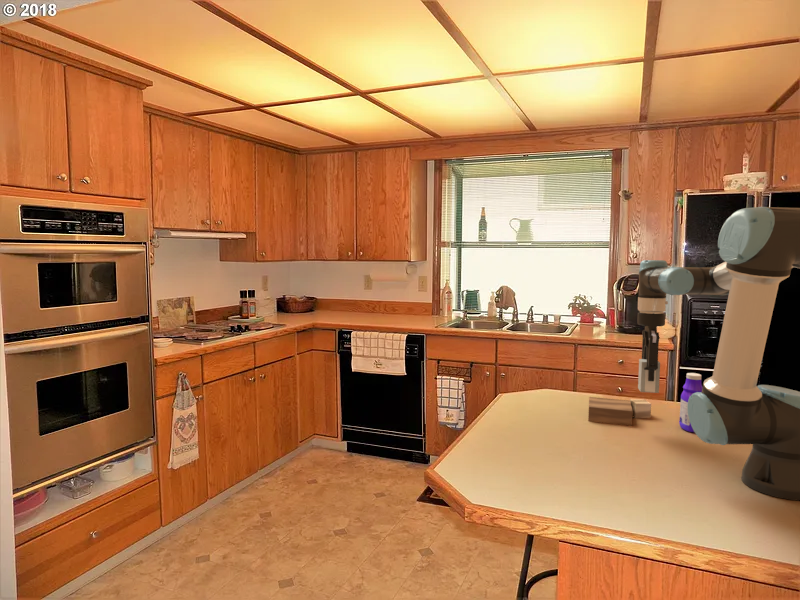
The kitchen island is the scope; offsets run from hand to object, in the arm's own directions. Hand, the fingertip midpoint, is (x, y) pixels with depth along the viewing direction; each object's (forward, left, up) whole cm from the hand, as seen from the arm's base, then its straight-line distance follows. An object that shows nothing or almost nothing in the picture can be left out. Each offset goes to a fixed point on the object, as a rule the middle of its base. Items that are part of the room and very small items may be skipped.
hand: (648, 389), depth 166 cm
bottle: (+7, -14, -14) cm, 21 cm away
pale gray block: (0, 0, 0) cm, 0 cm away
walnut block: (+13, +9, -14) cm, 21 cm away
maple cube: (+18, -1, -14) cm, 23 cm away
